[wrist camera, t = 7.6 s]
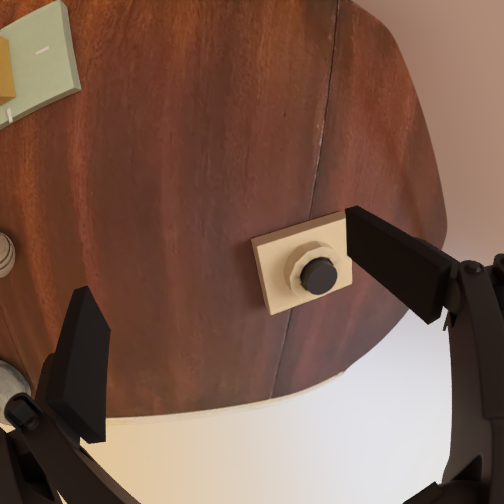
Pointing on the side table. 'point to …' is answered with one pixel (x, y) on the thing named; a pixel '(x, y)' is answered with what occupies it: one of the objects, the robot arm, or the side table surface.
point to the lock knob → (5, 73)
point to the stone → (10, 386)
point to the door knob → (6, 255)
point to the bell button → (318, 276)
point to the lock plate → (40, 61)
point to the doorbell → (300, 259)
